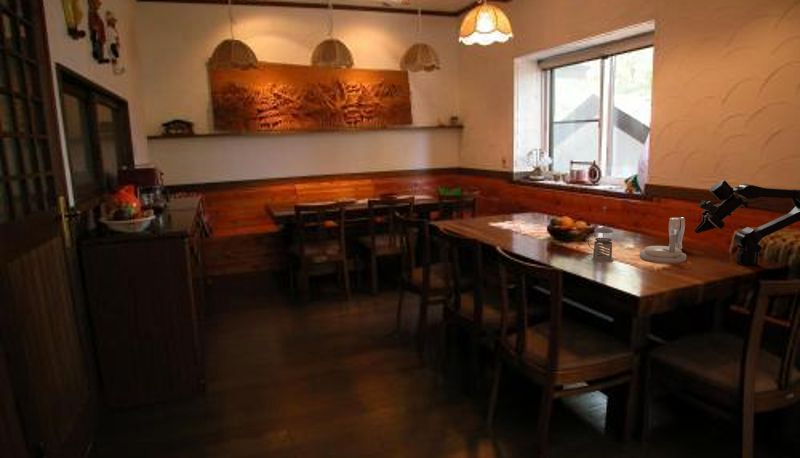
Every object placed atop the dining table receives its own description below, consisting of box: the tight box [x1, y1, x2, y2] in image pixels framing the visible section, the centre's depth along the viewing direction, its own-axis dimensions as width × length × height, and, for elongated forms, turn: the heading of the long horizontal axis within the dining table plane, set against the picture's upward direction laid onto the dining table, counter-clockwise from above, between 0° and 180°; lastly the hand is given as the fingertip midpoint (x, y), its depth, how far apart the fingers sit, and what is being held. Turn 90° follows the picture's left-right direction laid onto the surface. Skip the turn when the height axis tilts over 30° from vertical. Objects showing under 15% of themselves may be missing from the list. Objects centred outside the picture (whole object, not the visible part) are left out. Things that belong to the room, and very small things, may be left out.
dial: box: [644, 234, 683, 257], centre depth 223 cm, size 15×15×10 cm
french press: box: [587, 206, 615, 263], centre depth 224 cm, size 10×12×25 cm
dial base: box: [639, 249, 687, 264], centre depth 224 cm, size 19×19×2 cm
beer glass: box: [668, 216, 686, 250], centre depth 241 cm, size 7×7×15 cm
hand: (695, 232), depth 213 cm, fingers closed
